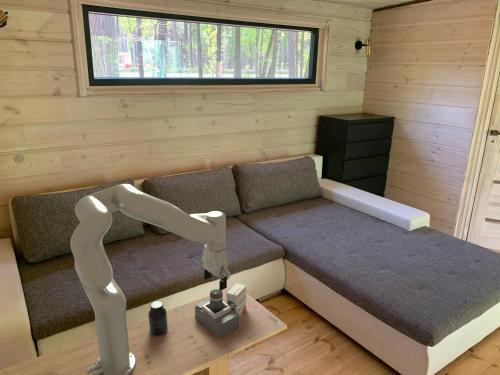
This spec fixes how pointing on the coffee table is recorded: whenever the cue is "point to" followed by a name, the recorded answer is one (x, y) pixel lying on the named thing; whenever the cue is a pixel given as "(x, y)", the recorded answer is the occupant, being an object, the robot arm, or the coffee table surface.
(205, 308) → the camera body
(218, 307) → the lens
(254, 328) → the coffee table surface
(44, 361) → the coffee table surface
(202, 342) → the coffee table surface
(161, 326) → the supplement bottle
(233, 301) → the ink box
